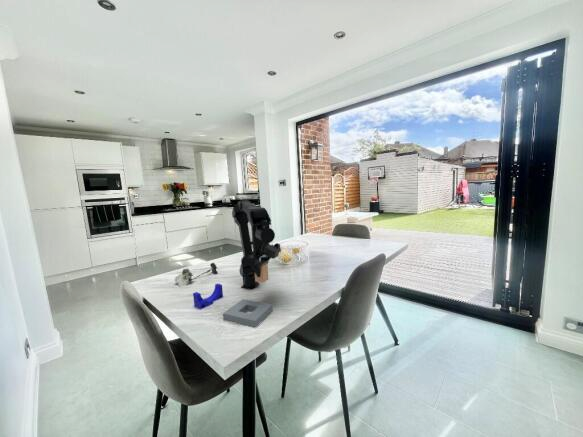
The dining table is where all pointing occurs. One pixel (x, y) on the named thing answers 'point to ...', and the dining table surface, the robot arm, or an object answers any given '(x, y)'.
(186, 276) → the artificial flower
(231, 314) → the socket plate
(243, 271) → the robot arm
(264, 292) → the dining table surface
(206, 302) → the cable clip
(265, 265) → the tan upright block
